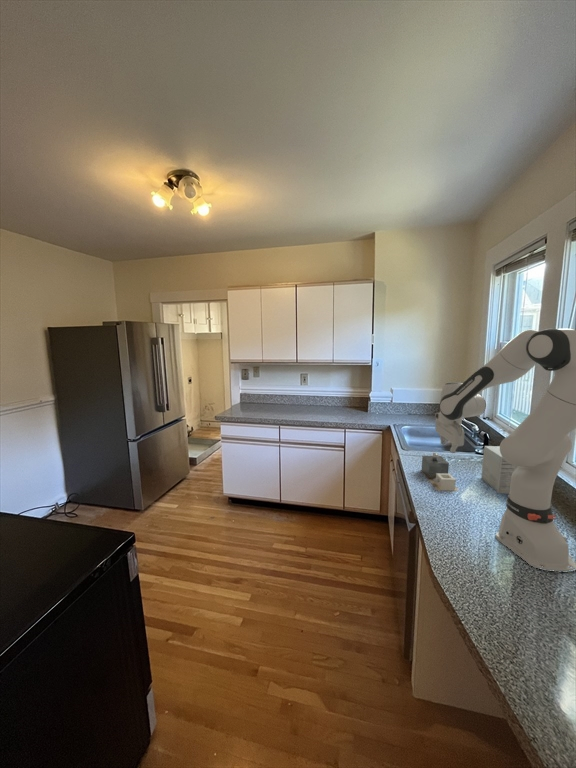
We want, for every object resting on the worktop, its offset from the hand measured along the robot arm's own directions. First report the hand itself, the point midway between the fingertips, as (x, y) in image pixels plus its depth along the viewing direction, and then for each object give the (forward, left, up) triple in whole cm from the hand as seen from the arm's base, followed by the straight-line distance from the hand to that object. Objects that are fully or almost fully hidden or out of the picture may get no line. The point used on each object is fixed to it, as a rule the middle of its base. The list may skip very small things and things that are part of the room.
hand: (447, 448), depth 138 cm
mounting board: (+7, 0, -20) cm, 21 cm away
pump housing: (0, 0, -18) cm, 18 cm away
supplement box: (+4, -28, -20) cm, 35 cm away
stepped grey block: (+12, 0, -18) cm, 22 cm away
